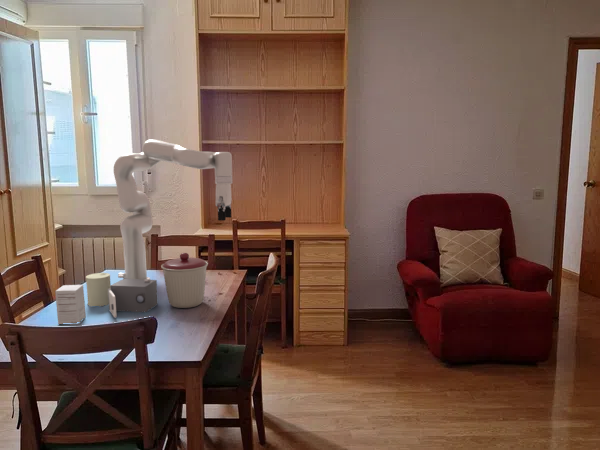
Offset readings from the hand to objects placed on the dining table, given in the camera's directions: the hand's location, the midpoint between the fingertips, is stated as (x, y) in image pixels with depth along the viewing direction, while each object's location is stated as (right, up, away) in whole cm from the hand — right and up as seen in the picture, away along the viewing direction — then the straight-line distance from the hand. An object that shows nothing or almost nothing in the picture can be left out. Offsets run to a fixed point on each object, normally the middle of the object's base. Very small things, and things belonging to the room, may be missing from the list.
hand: (224, 218), depth 213 cm
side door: (-37, -36, -33) cm, 61 cm away
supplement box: (-49, -38, -40) cm, 74 cm away
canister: (-12, -35, -21) cm, 42 cm away
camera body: (-31, -35, -24) cm, 53 cm away
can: (-48, -35, -19) cm, 62 cm away
